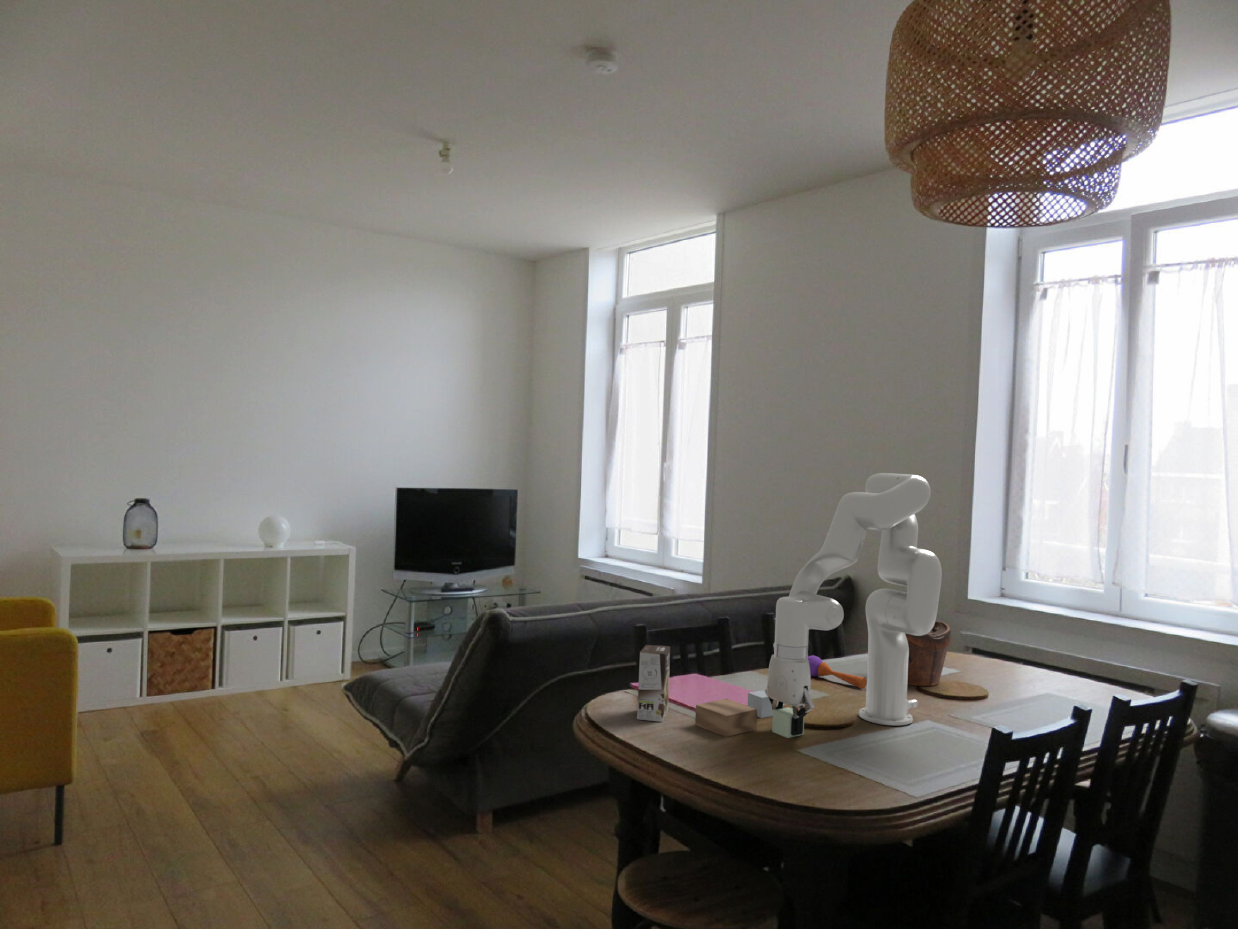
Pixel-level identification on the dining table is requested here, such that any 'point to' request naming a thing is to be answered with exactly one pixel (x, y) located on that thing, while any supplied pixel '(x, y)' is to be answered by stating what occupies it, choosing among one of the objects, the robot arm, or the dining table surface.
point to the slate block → (760, 703)
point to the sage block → (783, 722)
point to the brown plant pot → (928, 655)
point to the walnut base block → (726, 717)
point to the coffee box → (653, 683)
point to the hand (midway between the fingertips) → (787, 730)
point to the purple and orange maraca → (833, 672)
